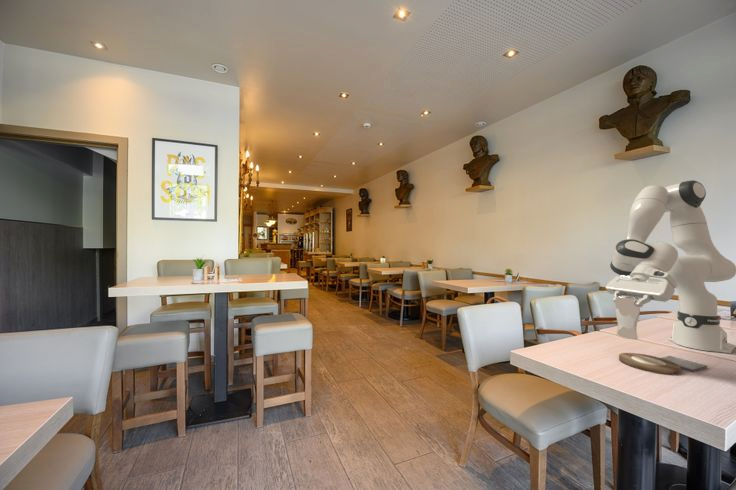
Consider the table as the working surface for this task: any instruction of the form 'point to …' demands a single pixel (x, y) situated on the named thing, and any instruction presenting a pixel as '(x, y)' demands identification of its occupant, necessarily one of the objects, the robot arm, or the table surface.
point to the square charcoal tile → (686, 364)
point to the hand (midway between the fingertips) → (626, 303)
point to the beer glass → (627, 317)
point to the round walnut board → (649, 363)
